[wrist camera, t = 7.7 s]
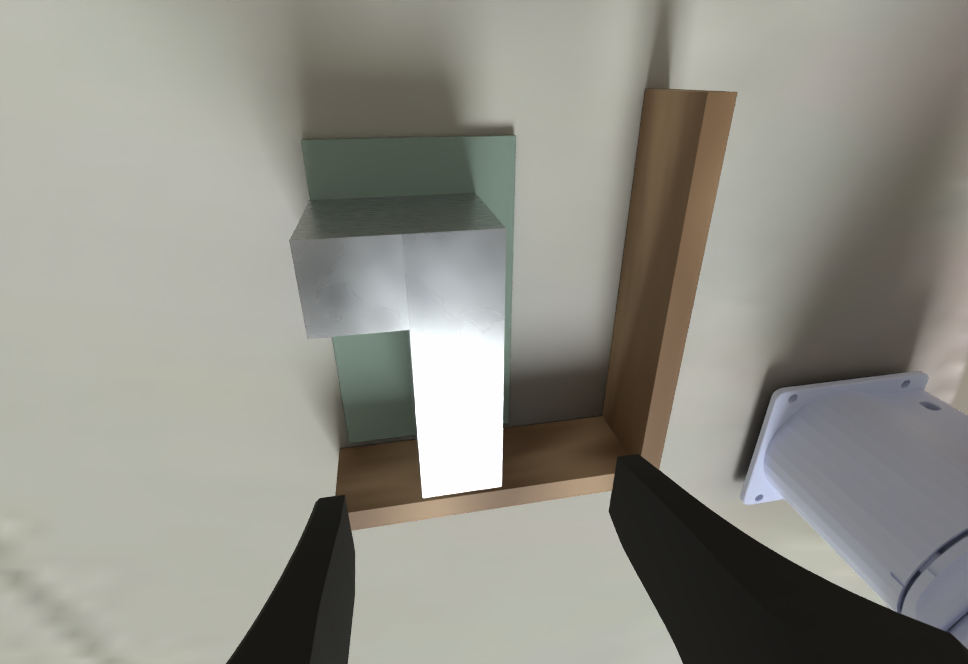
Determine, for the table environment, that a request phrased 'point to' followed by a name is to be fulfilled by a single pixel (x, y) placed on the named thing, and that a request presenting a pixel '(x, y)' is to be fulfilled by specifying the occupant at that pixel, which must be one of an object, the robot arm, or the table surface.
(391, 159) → the pad
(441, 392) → the bracket
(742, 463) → the table surface
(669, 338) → the brown wooden l-shaped piece
